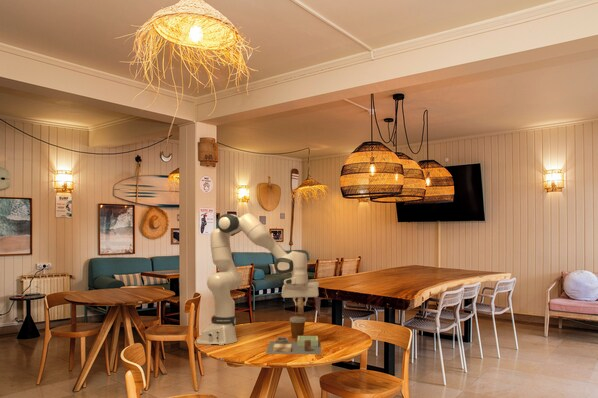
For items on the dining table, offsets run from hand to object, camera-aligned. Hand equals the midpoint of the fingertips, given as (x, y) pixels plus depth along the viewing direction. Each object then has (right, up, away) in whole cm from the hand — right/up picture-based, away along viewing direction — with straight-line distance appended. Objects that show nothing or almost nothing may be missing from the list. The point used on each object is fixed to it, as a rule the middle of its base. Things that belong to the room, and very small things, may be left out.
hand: (300, 305), depth 251 cm
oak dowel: (0, -4, 0) cm, 4 cm away
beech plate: (-9, -20, -13) cm, 26 cm away
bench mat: (-3, -21, -7) cm, 23 cm away
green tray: (+4, -21, -1) cm, 21 cm away
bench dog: (+4, -20, -13) cm, 24 cm away
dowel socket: (-10, -21, -1) cm, 23 cm away
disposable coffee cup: (-2, -23, +16) cm, 28 cm away
